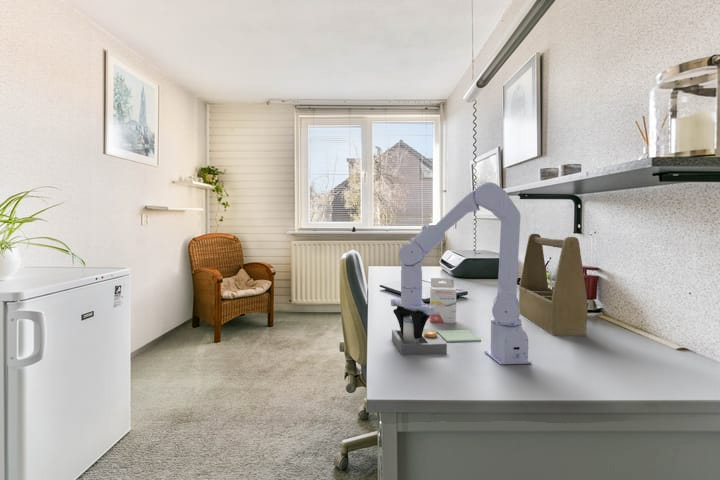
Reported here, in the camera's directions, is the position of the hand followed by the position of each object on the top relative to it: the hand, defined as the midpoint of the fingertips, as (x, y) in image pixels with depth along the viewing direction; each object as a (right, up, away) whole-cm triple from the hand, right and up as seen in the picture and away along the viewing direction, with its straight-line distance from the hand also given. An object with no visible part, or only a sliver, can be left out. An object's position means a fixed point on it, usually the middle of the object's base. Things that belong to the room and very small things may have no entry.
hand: (411, 335), depth 106 cm
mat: (+15, -2, +9) cm, 17 cm away
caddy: (+50, -2, +24) cm, 55 cm away
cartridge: (0, -2, 0) cm, 2 cm away
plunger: (+5, -2, +1) cm, 6 cm away
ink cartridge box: (+14, -2, +27) cm, 30 cm away
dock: (+2, -3, 0) cm, 3 cm away
